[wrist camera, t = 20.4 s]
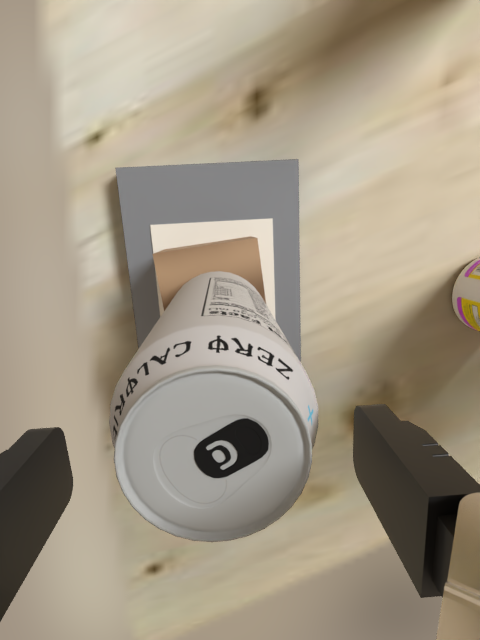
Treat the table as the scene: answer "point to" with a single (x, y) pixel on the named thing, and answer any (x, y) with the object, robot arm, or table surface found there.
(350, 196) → the table surface
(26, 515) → the robot arm
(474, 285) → the supplement bottle
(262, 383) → the energy drink can
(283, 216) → the base board
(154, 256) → the walnut block
